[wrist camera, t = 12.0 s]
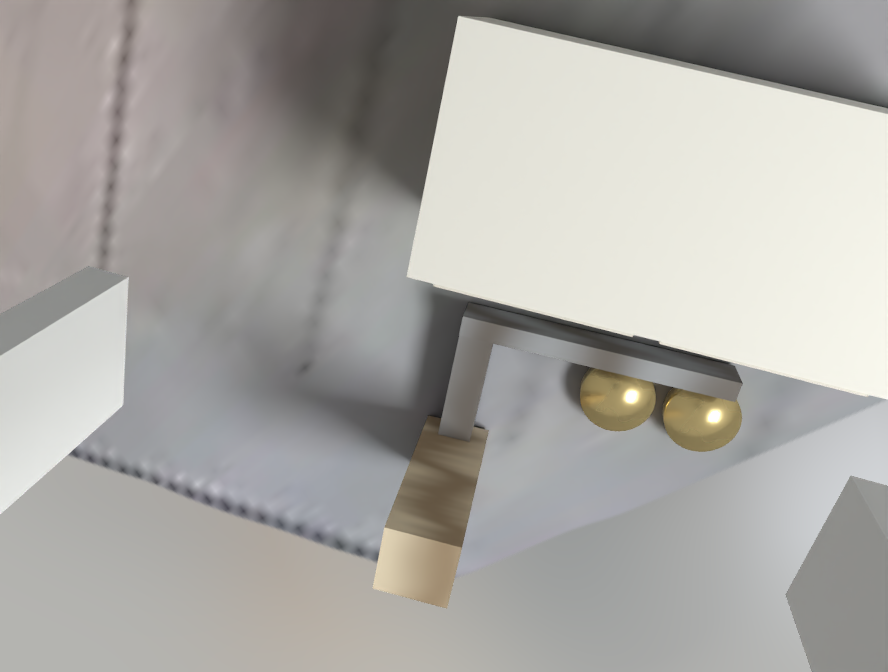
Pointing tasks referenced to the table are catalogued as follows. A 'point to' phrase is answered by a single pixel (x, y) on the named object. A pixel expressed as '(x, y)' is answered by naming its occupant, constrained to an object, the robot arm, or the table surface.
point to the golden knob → (616, 399)
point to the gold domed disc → (700, 420)
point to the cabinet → (661, 203)
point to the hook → (462, 445)
